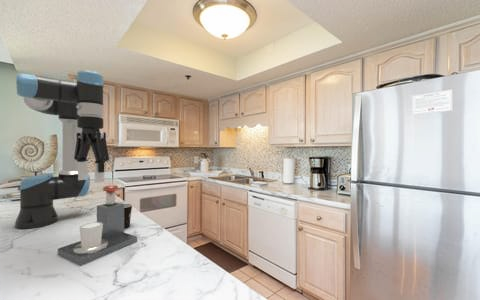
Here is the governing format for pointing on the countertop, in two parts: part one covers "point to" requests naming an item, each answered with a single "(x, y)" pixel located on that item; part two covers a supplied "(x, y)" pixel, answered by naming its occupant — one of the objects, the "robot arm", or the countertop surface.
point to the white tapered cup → (91, 234)
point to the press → (110, 238)
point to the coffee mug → (127, 215)
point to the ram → (110, 194)
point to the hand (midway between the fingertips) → (91, 180)
